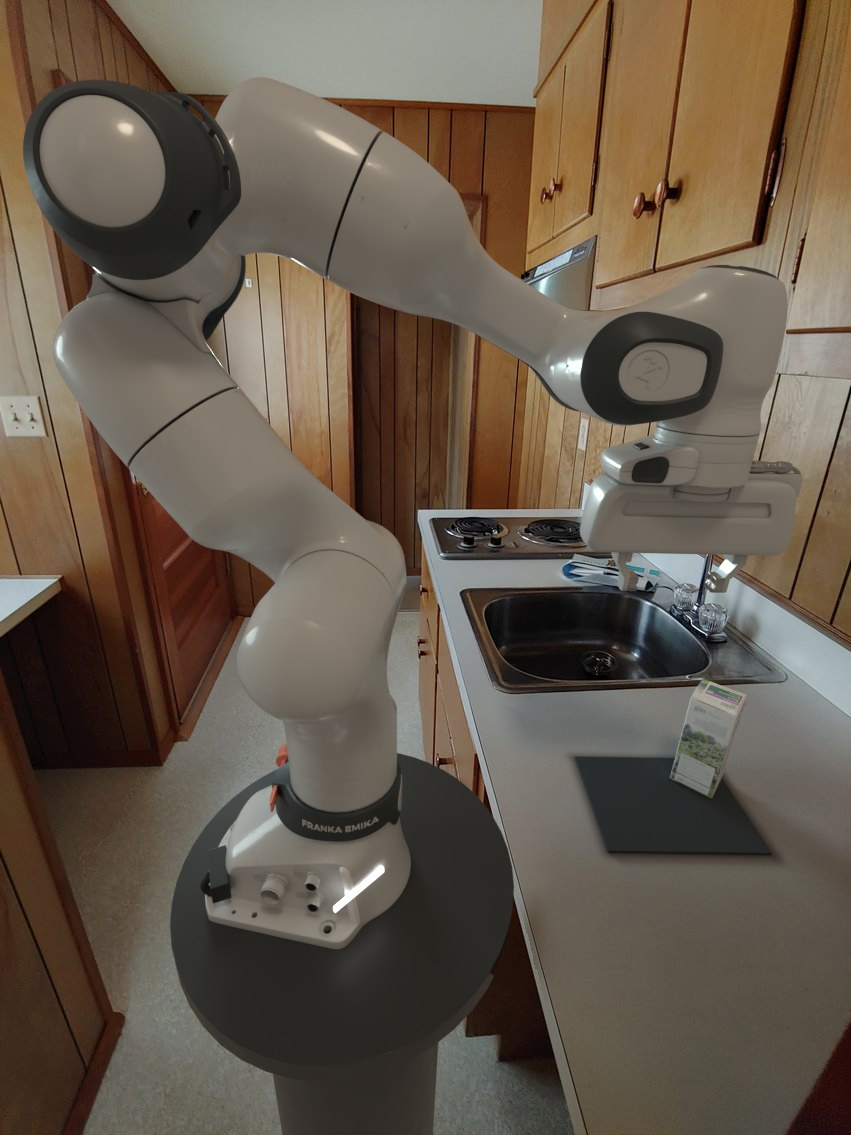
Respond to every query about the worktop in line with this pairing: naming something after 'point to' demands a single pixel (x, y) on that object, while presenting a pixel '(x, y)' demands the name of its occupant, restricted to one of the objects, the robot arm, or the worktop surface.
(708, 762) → the syrup box
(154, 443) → the robot arm
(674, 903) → the worktop surface
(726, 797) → the mat
